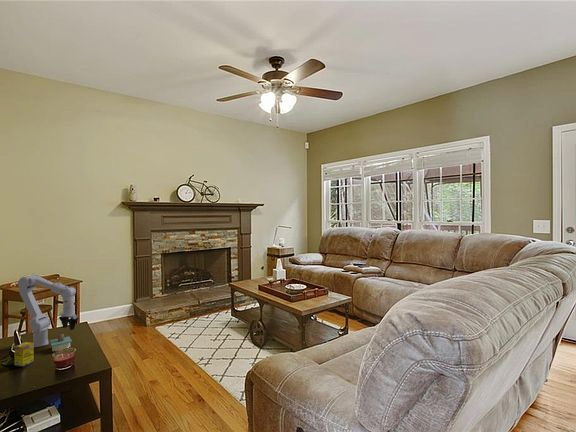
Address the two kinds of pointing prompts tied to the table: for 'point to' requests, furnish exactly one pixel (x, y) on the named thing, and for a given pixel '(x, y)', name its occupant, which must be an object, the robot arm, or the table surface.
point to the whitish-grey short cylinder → (60, 347)
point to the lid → (60, 340)
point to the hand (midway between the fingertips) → (68, 328)
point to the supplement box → (24, 354)
